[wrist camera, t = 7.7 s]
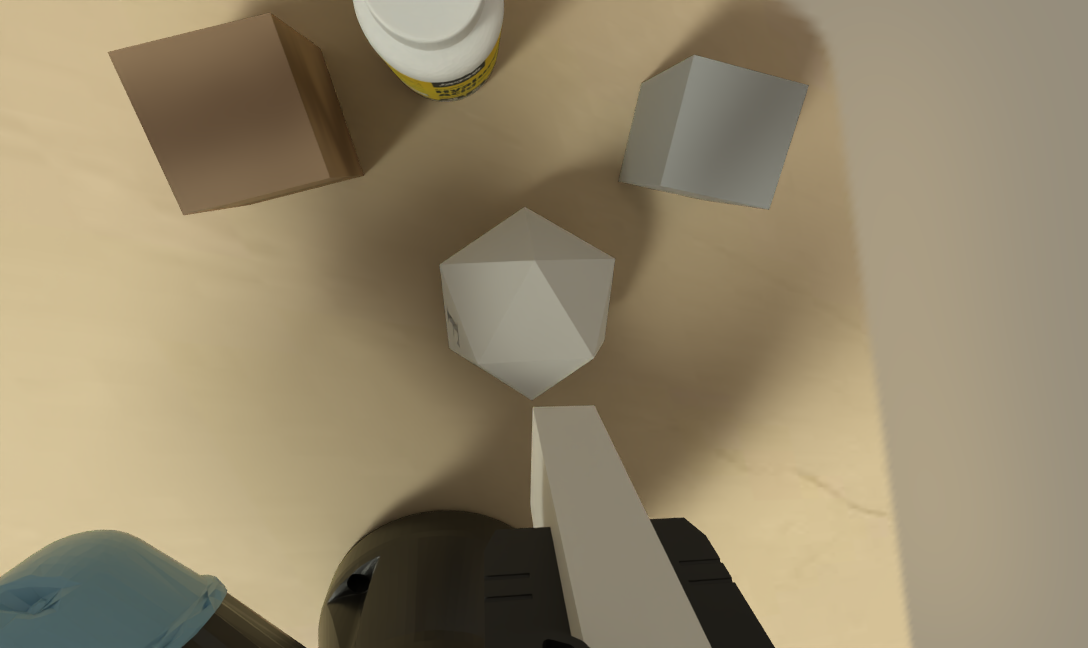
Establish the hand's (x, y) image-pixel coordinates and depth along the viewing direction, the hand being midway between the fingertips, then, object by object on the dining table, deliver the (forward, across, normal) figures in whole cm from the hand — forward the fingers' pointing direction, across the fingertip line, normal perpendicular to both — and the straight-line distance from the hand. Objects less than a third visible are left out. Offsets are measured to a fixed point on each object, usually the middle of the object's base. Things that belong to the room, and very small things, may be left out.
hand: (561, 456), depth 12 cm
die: (+18, 0, 0) cm, 18 cm away
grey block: (+17, -8, -8) cm, 21 cm away
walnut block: (+17, +12, -8) cm, 23 cm away
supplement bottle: (+17, +4, -13) cm, 22 cm away
